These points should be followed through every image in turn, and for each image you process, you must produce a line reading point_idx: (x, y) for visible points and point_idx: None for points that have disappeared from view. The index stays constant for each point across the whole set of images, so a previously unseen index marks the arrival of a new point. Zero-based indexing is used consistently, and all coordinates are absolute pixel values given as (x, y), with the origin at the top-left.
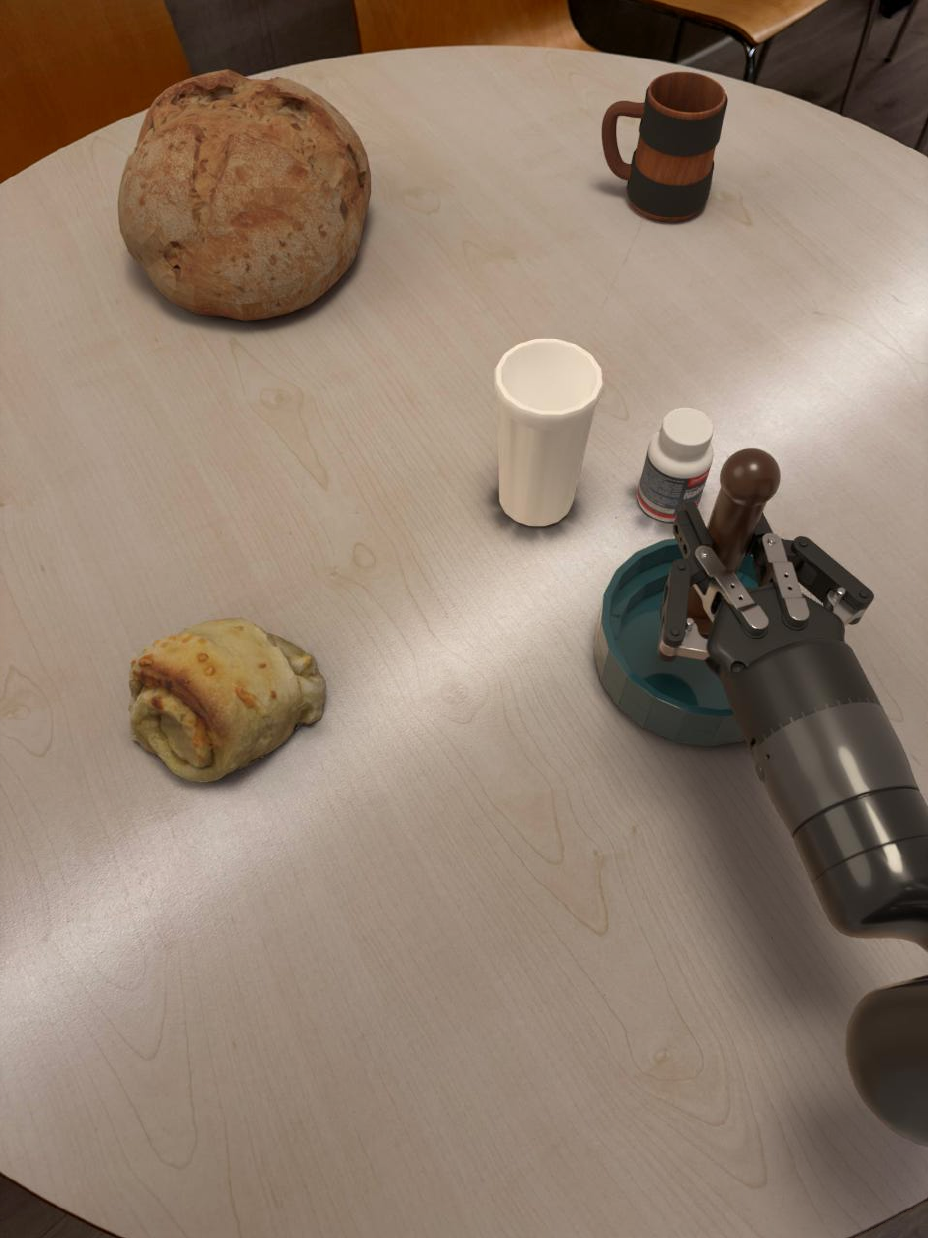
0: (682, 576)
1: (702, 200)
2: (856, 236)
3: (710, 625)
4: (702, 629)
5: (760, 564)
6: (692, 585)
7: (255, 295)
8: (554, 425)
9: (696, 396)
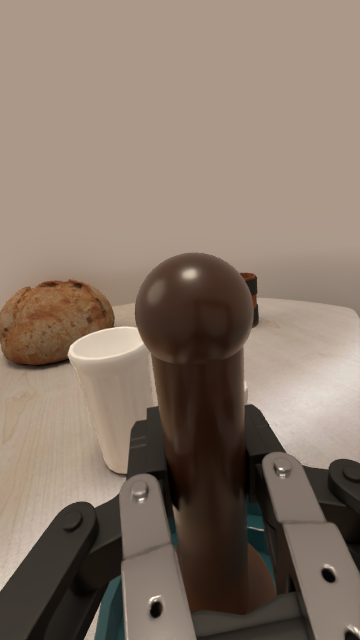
0: (59, 552)
1: (254, 318)
2: (332, 328)
3: None
4: None
5: (273, 524)
6: (120, 573)
7: (34, 349)
8: (99, 370)
9: (253, 391)
